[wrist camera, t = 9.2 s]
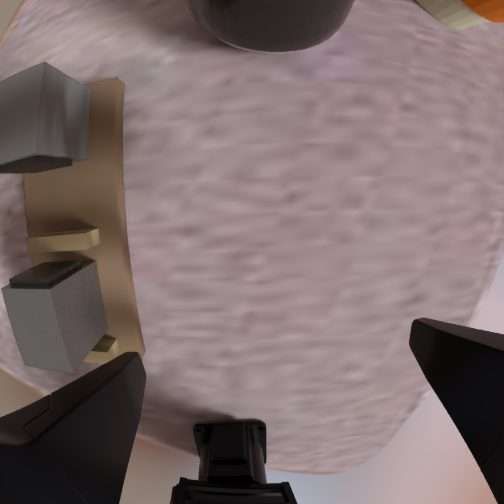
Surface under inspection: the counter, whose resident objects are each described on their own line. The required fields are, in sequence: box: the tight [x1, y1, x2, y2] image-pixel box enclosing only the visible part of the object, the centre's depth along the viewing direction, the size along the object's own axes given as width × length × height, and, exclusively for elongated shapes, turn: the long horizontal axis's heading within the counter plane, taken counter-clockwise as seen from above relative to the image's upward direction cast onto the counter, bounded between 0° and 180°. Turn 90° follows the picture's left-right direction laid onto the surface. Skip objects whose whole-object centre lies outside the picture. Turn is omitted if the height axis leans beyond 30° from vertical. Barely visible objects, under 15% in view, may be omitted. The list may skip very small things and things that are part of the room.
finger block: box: [1, 260, 109, 373], centre depth 16 cm, size 5×4×6 cm
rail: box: [0, 62, 145, 364], centre depth 15 cm, size 20×8×8 cm, turn 2°
